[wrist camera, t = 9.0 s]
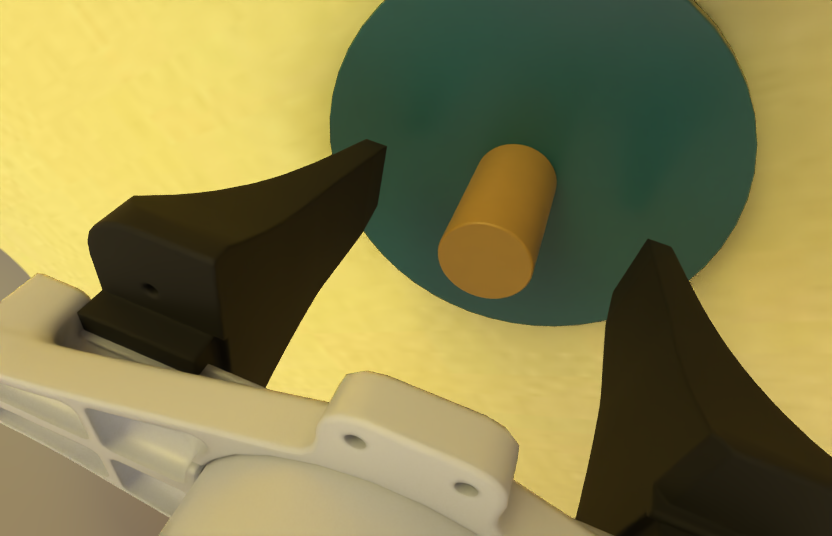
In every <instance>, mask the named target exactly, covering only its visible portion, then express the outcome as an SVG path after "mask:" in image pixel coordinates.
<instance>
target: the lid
mask: <svg viewBox="0 0 832 536" xmlns="http://www.w3.org/2000/svg"><path fill="white" fill-rule="evenodd" d="M365 139H368V140H371V141H374V142H377V143H380V144H383V145H385V146H387V150H386V157H385V163H384V169H383V175H382V181H381V187H380V194H379V200H378V205H377V207H376V209H375V211H374V213H373V215H372V217H371V219H370V220H369V222H368V224H367V226H366V227H365V229H364V232H365V234H366V235H367V236H368V238H369V239H370V240H371V242H372V243H373V244H374V245H375V246H376V247H377V249H378V250H379V251H380V252H381V253H382V254H383V255H384V256H385V257H386V258H387V259H388V260H389V261H390V262H391V263H392V264H393V265H394V266H395V267H396V268H397V269H398V270H399V271H401V272H402V273H403V274H405V275H406V276H407V277H408V278H410V279H411V280H412V281H413V282H415V283H416V284H418V285H419V286H421V287H422V288H424V289H425V290H427V291H429V292H430V293H432V294H433V295H435V296H437V297H439V298H441V299H443V300H445V301H447V302H449V303H451V304H453V305H455V306H458V307H460V308H462V309H465V310H467V311H470V312H473V313H476V314H479V315H482V316H485V317H489V318H492V319H497V320H501V321H506V322H510V323H517V324H525V325H533V326H570V325H581V324H588V323H594V322H601V321H604V320H607V316H608V311H609V306H610V302H611V298H612V293H613V291H614V289H615V288H616V286H617V285H618V283H619V282H620V280H621V279H622V277H623V276H624V274H625V272H626V271H627V269H628V268H629V266H630V265H631V263H632V262H633V260H634V259H635V257H636V256H637V254H638V253H639V251H640V249H641V248H642V246H643V245H644V243H645V242H646V240H647V239H651V240H654V241H657V242H660V243H662V244H665V245H668V246H671V247H672V249H673V250H674V252H675V254H676V256H677V258H678V260H679V262H680V264H681V266H682V268H683V270H684V272H685V274H686V276H687V278H688V280H690V279H691V278H692V277H693V276H695V275H696V274H697V273H698V272H699V271H700V270H701V269H703V268H704V267H705V266H706V265H707V264H708V262H709V261H710V260H711V259H712V258H713V257H714V256H715V254H716V253H717V252H718V251H719V250H720V249H721V247H722V246H723V245H724V243H725V242H726V240H727V238H728V237H729V235H730V234H731V232H732V231H733V229H734V228H735V226H736V224H737V222H738V220H739V218H740V216H741V213H742V211H743V209H744V207H745V204H746V202H747V200H748V196H749V192H750V189H751V185H752V181H753V177H754V174H755V164H756V153H757V134H756V121H755V113H754V109H753V105H752V101H751V97H750V93H749V89H748V86H747V82H746V79H745V76H744V74H743V72H742V70H741V67H740V65H739V63H738V61H737V59H736V56H735V54H734V52H733V50H732V48H731V47H730V45H729V44H728V42H727V41H726V39H725V38H724V36H723V35H722V33H721V32H720V30H719V29H718V27H717V26H716V24H715V23H714V22H713V21H712V20H711V18H710V17H709V16H708V15H707V14H706V13H705V12H704V11H703V10H702V9H701V8H700V7H699V6H698V5H697V4H696V3H695V2H694V1H693V0H385V1H384V2H383V3H381V4H380V5H379V6H378V8H377V9H376V10H375V11H374V12H373V14H372V15H371V16H370V17H369V18H368V20H367V21H366V22H365V23H364V24H363V26H362V27H361V29H360V30H359V32H358V34H357V35H356V37H355V38H354V40H353V42H352V43H351V45H350V47H349V48H348V51H347V53H346V55H345V58H344V60H343V62H342V65H341V67H340V70H339V72H338V76H337V80H336V84H335V88H334V91H333V96H332V104H331V113H330V143H331V149H332V155H333V154H335V153H337V152H339V151H342V150H344V149H346V148H348V147H350V146H352V145H354V144H356V143H358V142H361V141H363V140H365Z"/></svg>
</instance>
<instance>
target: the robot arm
mask: <svg viewBox="0 0 832 536" xmlns="http://www.w3.org/2000/svg"><path fill="white" fill-rule="evenodd" d="M386 150H387V146H385V145H383V144H380V143H377V142H374V141H371V140H368V139H365V140H363V141H361V142H358V143H356V144H354V145H352V146H350V147H348V148H346V149H344V150H342V151H339V152H337V153H335V154H333V155H331V156H329V157H326V158H324V159H322V160H320V161H317V162H315V163H313V164H310V165H308V166H305V167H302V168H300V169H297V170H295V171H292V172H289V173H287V174H284V175H281V176H278V177H275V178H271V179H268V180H264V181H260V182H257V183H253V184H249V185H243V186H238V187H233V188H228V189H222V190H217V191H209V192H201V193H191V194H179V195H149V196H133V197H131V198H130V199H128V200H127V201H126V202H124V203H123V204H122V205H120V206H119V207H118V208H116V209H115V210H114V211H112V212H111V213H110V214H108V215H107V216H106V217H104V218H103V219H102V220H101V221H99V222H98V223H97V224H95V225H94V226H93V227H92V229H91V230H90V231H89V235H88V246H89V251H90V255H91V258H92V261H93V264H94V267H95V269H96V272H97V275H98V278H99V281H100V284H101V287H102V291H101V292H100V293H99V294H97V295H96V296H95V297H94V298H93V299H92V300H91V299H90V297H89V296H88V295H87V294H86V293H84V292H83V291H81V290H80V289H78V288H76V287H73V286H71V285H69V284H66V283H64V282H61V281H59V280H57V279H54V278H52V277H50V276H47V275H45V274H41V273H37V274H36V275H34V276H33V277H32V278H30V279H29V280H28V281H27V282H25V283H24V284H23V285H21V286H20V287H19V288H18V289H16V290H15V291H13V292H12V293H11V294H10V295H8V296H7V297H6V298H4V299H3V300H2V301H0V423H1V424H3V425H5V426H7V427H9V428H11V429H13V430H16V431H17V432H20V433H22V434H24V435H25V436H27V437H29V438H31V439H33V440H35V441H37V442H39V443H41V444H43V445H45V446H46V447H48V448H50V449H52V450H54V451H56V452H57V453H59V454H61V455H63V456H65V457H66V458H68V459H70V460H72V461H73V462H75V463H77V464H79V465H80V466H82V467H84V468H86V469H87V470H89V471H91V472H92V473H94V474H96V475H98V476H99V477H101V478H103V479H104V480H106V481H108V482H109V483H111V484H113V485H115V486H116V487H118V488H120V489H121V490H123V491H125V492H127V493H128V494H130V495H132V496H133V497H135V498H137V499H138V500H140V501H142V502H144V503H146V504H147V505H149V506H151V507H152V508H154V509H156V510H157V511H159V512H161V513H162V514H164V515H166V516H168V517H169V518H170V519H169V521H168V522H167V524H166V525H165V526H164V528H163V529H162V531H161V532H160V534H159V535H158V536H832V457H831V456H830V455H828V454H827V453H826V452H825V451H824V450H823V449H821V448H820V447H819V446H818V445H817V444H815V443H814V442H813V441H812V440H811V439H810V438H809V437H808V436H807V435H806V434H804V433H803V432H802V431H801V430H800V429H799V428H798V427H797V426H796V425H795V424H794V423H793V422H792V421H791V420H790V419H789V418H788V417H787V416H786V415H785V414H784V413H783V412H782V411H781V410H780V409H779V408H778V407H777V406H776V405H775V404H774V403H773V402H772V401H771V400H770V398H769V397H768V396H767V395H766V394H765V393H764V392H763V391H762V389H761V388H760V387H759V386H758V385H757V384H756V383H755V382H754V380H753V379H752V378H751V377H750V376H749V374H748V373H747V372H746V371H745V369H744V368H743V367H742V366H741V364H740V363H739V362H738V360H737V359H736V358H735V356H734V355H733V354H732V352H731V351H730V350H729V348H728V347H727V345H726V344H725V342H724V341H723V339H722V338H721V336H720V335H719V333H718V332H717V330H716V328H715V327H714V325H713V324H712V322H711V321H710V319H709V317H708V315H707V314H706V312H705V310H704V309H703V307H702V305H701V303H700V301H699V300H698V298H697V296H696V294H695V292H694V290H693V288H692V286H691V284H690V282H689V280H688V278H687V276H686V274H685V272H684V270H683V268H682V266H681V264H680V262H679V260H678V258H677V256H676V254H675V252H674V250H673V249H672V247H671V246H668V245H665V244H662V243H660V242H657V241H654V240H651V239H647V240H646V242H645V243H644V245H643V246H642V248H641V249H640V251H639V253H638V254H637V256H636V257H635V259H634V260H633V262H632V263H631V265H630V266H629V268H628V269H627V271H626V272H625V274H624V276H623V277H622V279H621V280H620V282H619V283H618V285H617V286H616V288H615V289H614V291H613V293H612V298H611V302H610V306H609V311H608V316H607V320H606V327H605V341H604V356H603V372H602V388H601V399H600V408H599V413H598V419H597V424H596V429H595V435H594V440H593V445H592V449H591V454H590V459H589V464H588V468H587V473H586V477H585V481H584V486H583V490H582V494H581V498H580V503H579V507H578V511H577V515H576V518H575V519H574V518H571V517H569V516H568V515H566V514H565V513H563V512H562V511H560V510H559V509H557V508H556V507H554V506H553V505H551V504H550V503H548V502H547V501H545V500H544V499H542V498H541V497H539V496H538V495H536V494H534V493H533V492H531V491H530V490H528V489H527V488H525V487H524V486H522V485H521V484H519V483H518V482H516V481H515V480H513V478H514V473H515V469H516V464H517V460H518V451H519V445H518V443H517V442H516V441H515V439H514V438H513V437H512V435H511V434H510V433H509V431H508V430H507V429H506V428H505V427H504V426H503V425H501V424H499V423H498V422H496V421H494V420H493V419H491V418H489V417H487V416H486V415H483V414H481V413H478V412H476V411H474V410H471V409H469V408H466V407H464V406H461V405H459V404H456V403H454V402H451V401H449V400H447V399H444V398H442V397H439V396H437V395H434V394H432V393H429V392H427V391H425V390H422V389H420V388H417V387H415V386H412V385H410V384H407V383H405V382H403V381H400V380H398V379H395V378H393V377H390V376H388V375H384V374H379V373H375V372H371V371H362V372H357V373H351V374H347V375H346V376H345V377H344V379H343V380H342V381H341V383H340V384H339V386H338V388H337V390H336V391H335V393H334V395H333V397H332V399H331V401H330V402H326V401H321V400H316V399H311V398H307V397H302V396H297V395H292V394H287V393H282V392H278V391H273V390H269V389H267V388H266V386H267V384H268V382H269V379H270V378H271V376H272V374H273V372H274V370H275V368H276V366H277V364H278V362H279V361H280V359H281V357H282V355H283V353H284V351H285V349H286V347H287V346H288V344H289V342H290V340H291V338H292V337H293V335H294V333H295V331H296V329H297V328H298V326H299V324H300V322H301V320H302V319H303V317H304V315H305V314H306V312H307V310H308V308H309V307H310V305H311V303H312V302H313V300H314V298H315V297H316V295H317V294H318V292H319V291H320V289H321V288H322V286H323V285H324V283H325V282H326V281H327V279H328V278H329V277H330V275H331V274H332V273H333V271H334V270H335V269H336V268H337V266H338V265H339V264H340V262H341V261H342V260H343V258H344V257H345V256H346V254H347V253H348V252H349V250H350V249H351V248H352V246H353V245H354V244H355V242H356V241H357V240H358V238H359V237H360V235H361V234H362V233H363V231H364V229H365V227H366V226H367V224H368V222H369V220H370V219H371V217H372V215H373V213H374V211H375V209H376V207H377V205H378V200H379V194H380V187H381V181H382V175H383V169H384V163H385V157H386Z"/></svg>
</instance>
